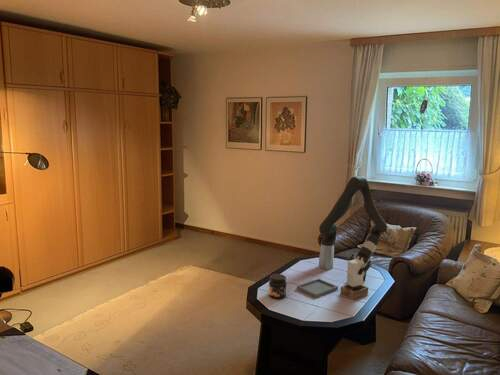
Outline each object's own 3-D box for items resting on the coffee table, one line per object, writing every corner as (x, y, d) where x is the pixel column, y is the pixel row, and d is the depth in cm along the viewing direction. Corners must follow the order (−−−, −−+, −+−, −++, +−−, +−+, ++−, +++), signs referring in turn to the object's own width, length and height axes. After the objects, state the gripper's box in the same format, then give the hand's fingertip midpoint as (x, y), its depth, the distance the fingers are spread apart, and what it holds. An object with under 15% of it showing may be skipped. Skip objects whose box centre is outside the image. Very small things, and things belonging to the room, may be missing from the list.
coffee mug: (365, 277, 272) (366, 262, 270) (368, 282, 264) (369, 267, 262) (348, 276, 273) (348, 262, 272) (349, 281, 265) (350, 266, 263)
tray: (296, 289, 251) (296, 285, 251) (318, 281, 264) (318, 278, 263) (315, 298, 239) (316, 294, 239) (337, 289, 251) (338, 286, 251)
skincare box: (356, 281, 249) (358, 258, 247) (363, 285, 244) (365, 261, 241) (345, 283, 246) (347, 260, 243) (352, 287, 240) (354, 263, 238)
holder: (340, 293, 246) (340, 286, 245) (353, 288, 253) (353, 281, 253) (354, 299, 238) (355, 292, 237) (367, 294, 245) (368, 287, 245)
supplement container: (265, 296, 240) (265, 277, 238) (274, 290, 249) (275, 272, 247) (280, 301, 234) (281, 281, 232) (289, 295, 243) (290, 276, 241)
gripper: (355, 243, 251) (341, 265, 246) (375, 249, 240) (361, 273, 235) (359, 249, 255) (346, 271, 250) (379, 256, 244) (366, 279, 239)
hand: (353, 272), depth 242 cm, fingers closed on skincare box, 6 cm apart
